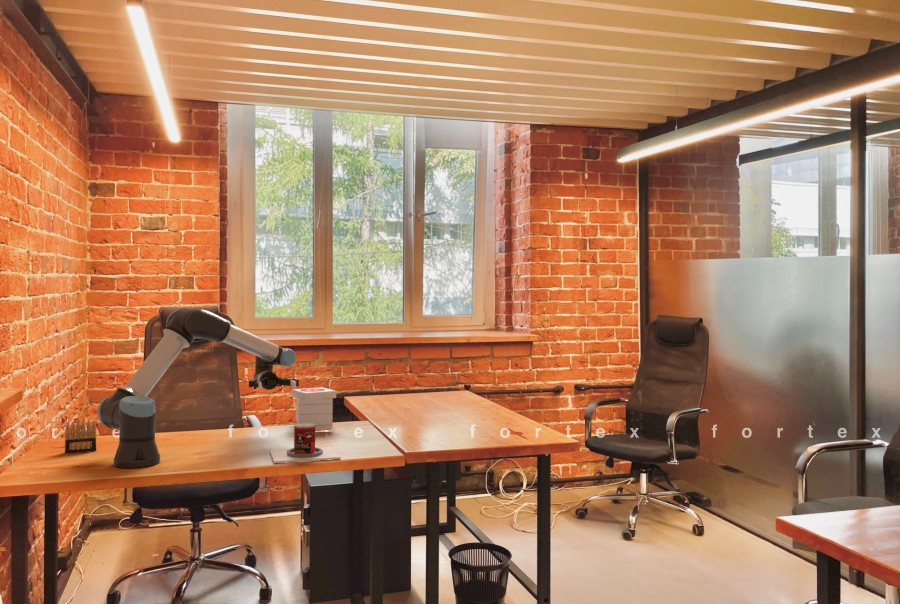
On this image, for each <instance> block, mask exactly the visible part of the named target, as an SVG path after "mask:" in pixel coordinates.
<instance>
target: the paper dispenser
mask: <svg viewBox="0 0 900 604" xmlns="http://www.w3.org/2000/svg"><path fill="white" fill-rule="evenodd" d="M291 396H292V398H296V407H295V409H296V410H295V421H296V424H299V423H313V424H315V431H321V430H331V429H332V430H333V413H334V412H333V411H334V410H333V409H334V408H333V404H334V403H333V400H334V399H336V398H337V390H334V389H330V388H328V387H327V388H326V387H310V388H309V387H308V388H296V389H294V388H292V389H291Z"/></svg>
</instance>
